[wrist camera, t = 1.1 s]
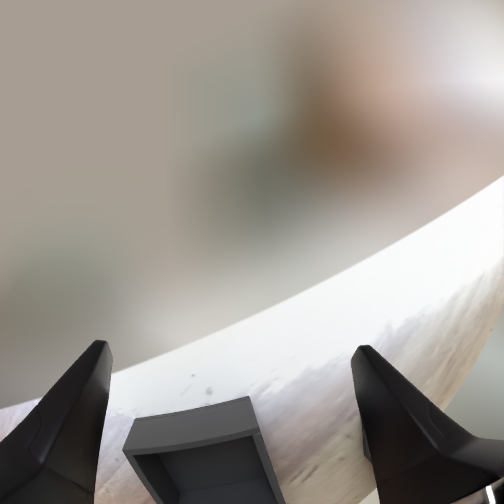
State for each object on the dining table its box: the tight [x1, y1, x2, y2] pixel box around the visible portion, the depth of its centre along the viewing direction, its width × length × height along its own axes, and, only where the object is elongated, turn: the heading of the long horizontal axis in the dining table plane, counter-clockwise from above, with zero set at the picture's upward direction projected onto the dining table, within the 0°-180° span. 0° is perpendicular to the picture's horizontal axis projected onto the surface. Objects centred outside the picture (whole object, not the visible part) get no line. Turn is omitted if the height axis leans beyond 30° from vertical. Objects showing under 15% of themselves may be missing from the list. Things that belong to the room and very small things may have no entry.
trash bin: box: [122, 396, 286, 504], centre depth 21 cm, size 11×11×6 cm
